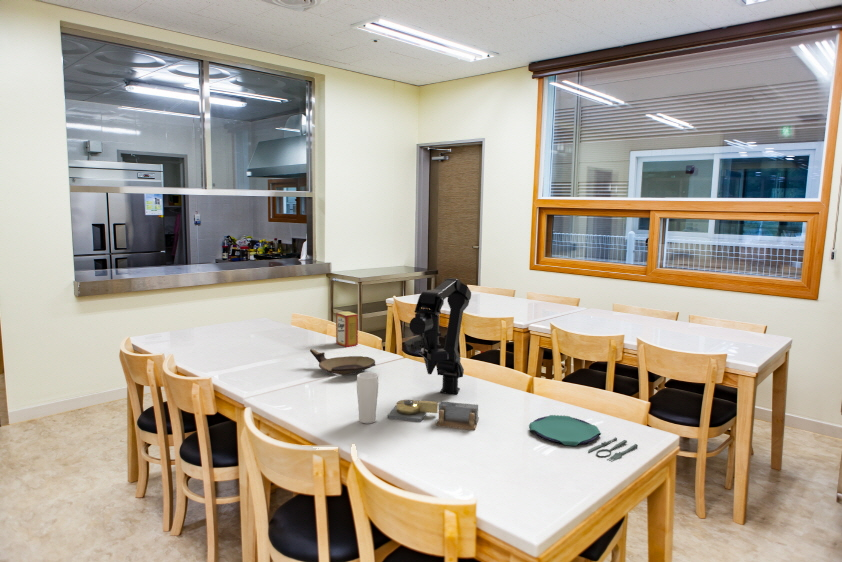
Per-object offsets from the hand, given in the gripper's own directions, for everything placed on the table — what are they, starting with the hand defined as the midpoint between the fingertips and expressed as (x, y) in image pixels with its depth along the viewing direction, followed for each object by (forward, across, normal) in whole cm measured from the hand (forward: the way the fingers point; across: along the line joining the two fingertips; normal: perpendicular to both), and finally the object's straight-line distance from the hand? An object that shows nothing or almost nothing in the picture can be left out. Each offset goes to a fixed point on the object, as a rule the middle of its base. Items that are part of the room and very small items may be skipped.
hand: (429, 374), depth 188 cm
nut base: (+12, +4, -9) cm, 15 cm away
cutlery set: (+12, +38, +33) cm, 52 cm away
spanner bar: (+11, +16, +4) cm, 20 cm away
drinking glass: (+12, +6, -23) cm, 27 cm away
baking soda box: (+12, -94, -8) cm, 95 cm away
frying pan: (+12, -50, -19) cm, 54 cm away
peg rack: (+12, +16, +4) cm, 20 cm away
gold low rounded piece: (+10, +6, -6) cm, 13 cm away
